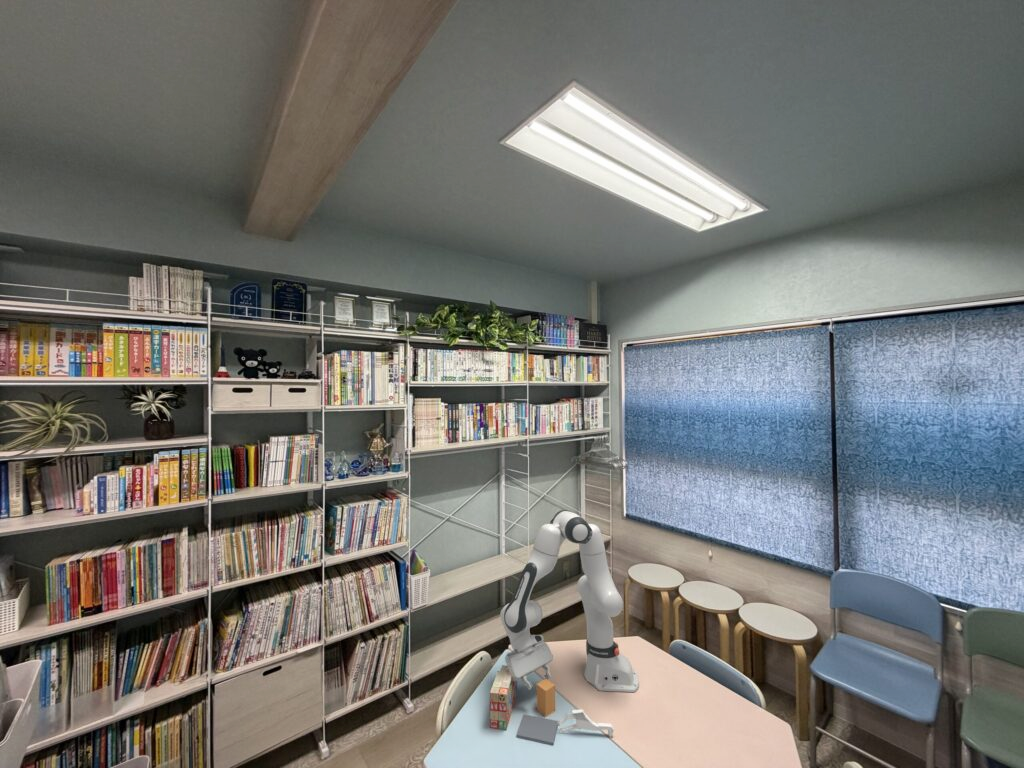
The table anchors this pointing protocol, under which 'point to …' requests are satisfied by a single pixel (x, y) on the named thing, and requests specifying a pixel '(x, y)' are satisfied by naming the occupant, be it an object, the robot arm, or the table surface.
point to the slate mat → (537, 729)
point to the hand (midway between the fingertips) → (540, 683)
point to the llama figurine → (584, 723)
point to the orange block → (546, 697)
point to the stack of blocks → (502, 699)
